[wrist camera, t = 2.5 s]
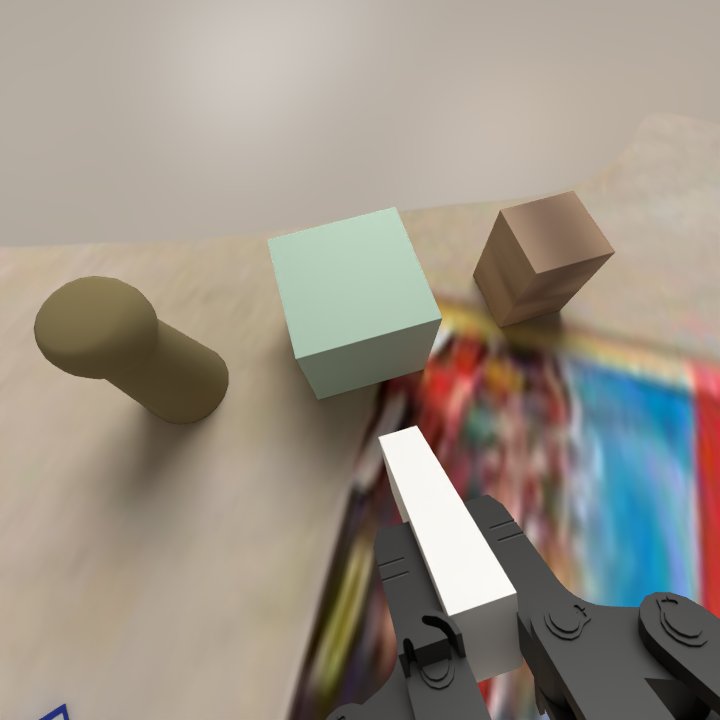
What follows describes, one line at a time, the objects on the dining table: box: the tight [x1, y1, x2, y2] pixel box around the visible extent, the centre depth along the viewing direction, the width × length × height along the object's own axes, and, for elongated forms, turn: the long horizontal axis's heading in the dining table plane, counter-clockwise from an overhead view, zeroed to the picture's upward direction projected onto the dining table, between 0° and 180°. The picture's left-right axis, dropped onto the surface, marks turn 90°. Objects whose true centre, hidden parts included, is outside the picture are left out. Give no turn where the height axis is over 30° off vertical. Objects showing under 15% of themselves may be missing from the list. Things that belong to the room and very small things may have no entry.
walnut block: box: [473, 191, 615, 328], centre depth 25 cm, size 5×5×7 cm
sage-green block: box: [267, 207, 442, 400], centre depth 24 cm, size 8×8×8 cm
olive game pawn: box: [34, 276, 228, 424], centre depth 22 cm, size 6×6×11 cm
